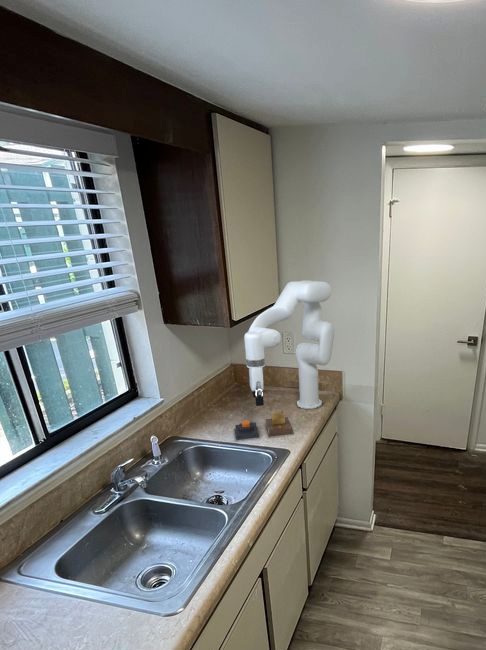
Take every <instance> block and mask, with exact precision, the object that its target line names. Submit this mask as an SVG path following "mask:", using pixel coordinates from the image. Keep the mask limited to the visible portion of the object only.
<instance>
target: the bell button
mask: <svg viewBox="0 0 486 650" xmlns="http://www.w3.org/2000/svg"><path fill="white" fill-rule="evenodd" d="M250 422H251V421H249V420H242V421H241V423H242V427H249V426H250Z"/></svg>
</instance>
